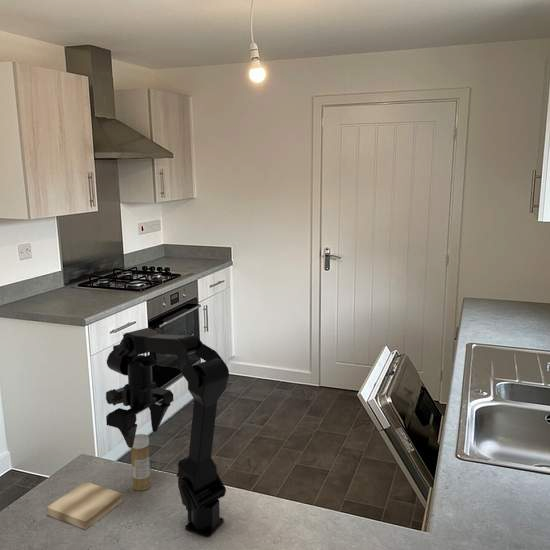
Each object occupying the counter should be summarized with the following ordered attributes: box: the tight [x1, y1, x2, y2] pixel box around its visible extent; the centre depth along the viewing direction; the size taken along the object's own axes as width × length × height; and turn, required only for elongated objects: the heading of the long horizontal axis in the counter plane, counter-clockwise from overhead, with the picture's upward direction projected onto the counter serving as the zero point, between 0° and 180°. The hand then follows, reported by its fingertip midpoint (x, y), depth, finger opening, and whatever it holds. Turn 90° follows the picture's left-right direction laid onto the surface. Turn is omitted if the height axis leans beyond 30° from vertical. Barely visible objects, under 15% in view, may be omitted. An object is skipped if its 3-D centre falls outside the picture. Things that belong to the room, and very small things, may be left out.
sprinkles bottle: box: [130, 433, 151, 491], centre depth 137 cm, size 5×5×14 cm
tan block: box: [46, 481, 124, 530], centre depth 129 cm, size 12×12×2 cm
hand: (142, 439), depth 135 cm, fingers open, 9 cm apart
